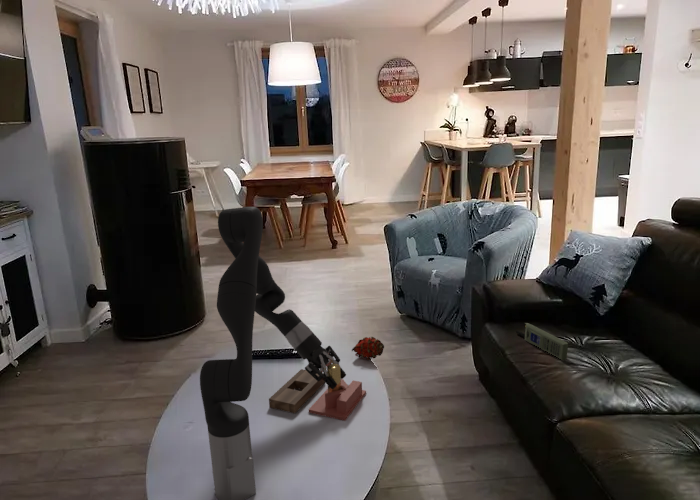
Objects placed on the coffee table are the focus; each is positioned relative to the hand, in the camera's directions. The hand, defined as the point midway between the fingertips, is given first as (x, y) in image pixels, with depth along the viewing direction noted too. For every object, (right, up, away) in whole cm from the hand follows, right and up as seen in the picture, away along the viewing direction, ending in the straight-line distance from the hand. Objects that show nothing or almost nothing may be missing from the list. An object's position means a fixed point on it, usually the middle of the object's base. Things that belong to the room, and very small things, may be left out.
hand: (339, 381), depth 151 cm
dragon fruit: (+10, 0, +31) cm, 32 cm away
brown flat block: (-13, -6, +8) cm, 16 cm away
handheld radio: (+74, +4, +35) cm, 82 cm away
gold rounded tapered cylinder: (-2, -6, +2) cm, 6 cm away
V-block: (-1, -7, +2) cm, 8 cm away
